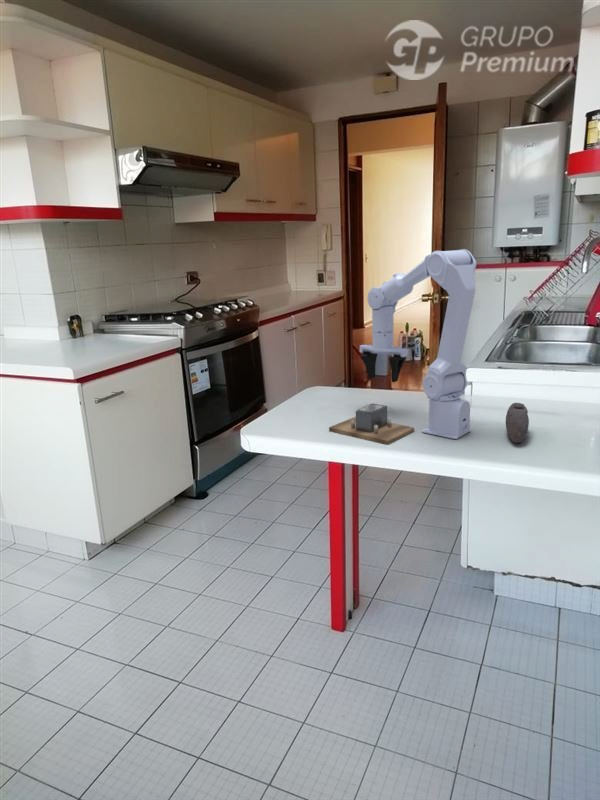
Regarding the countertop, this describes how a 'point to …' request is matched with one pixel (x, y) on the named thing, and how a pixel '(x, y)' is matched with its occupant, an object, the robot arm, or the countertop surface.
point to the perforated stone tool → (517, 422)
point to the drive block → (371, 417)
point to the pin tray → (381, 435)
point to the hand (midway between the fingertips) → (383, 379)
